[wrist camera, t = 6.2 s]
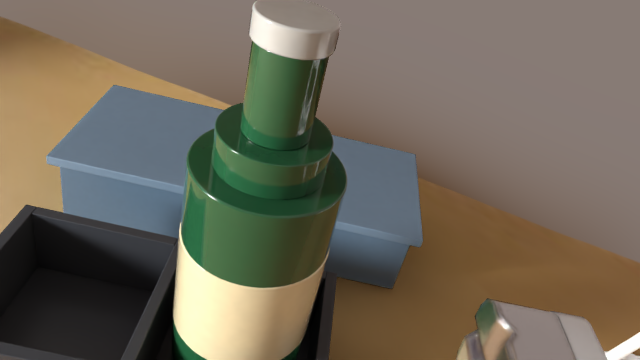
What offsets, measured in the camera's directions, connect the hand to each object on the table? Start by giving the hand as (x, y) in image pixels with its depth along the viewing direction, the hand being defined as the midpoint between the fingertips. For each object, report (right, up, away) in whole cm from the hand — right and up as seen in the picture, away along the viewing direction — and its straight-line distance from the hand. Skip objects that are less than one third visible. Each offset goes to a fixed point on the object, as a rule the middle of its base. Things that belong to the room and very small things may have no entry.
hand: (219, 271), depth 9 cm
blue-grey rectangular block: (-4, -1, +32) cm, 32 cm away
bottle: (-3, -8, +20) cm, 22 cm away
